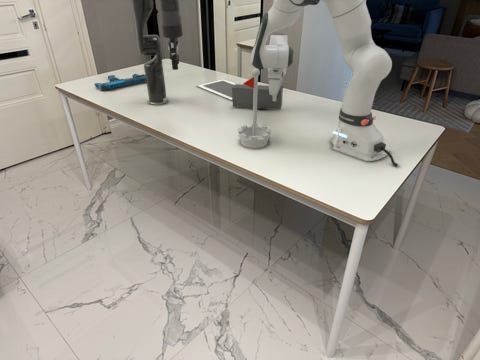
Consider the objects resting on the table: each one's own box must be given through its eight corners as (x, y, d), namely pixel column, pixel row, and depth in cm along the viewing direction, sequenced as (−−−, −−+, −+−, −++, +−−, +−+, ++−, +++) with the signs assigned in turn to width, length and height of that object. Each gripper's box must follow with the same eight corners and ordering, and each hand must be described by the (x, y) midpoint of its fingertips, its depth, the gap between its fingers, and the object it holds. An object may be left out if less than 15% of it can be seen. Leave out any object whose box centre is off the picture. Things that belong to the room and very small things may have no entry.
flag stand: (262, 133, 147) (264, 62, 131) (275, 146, 137) (280, 71, 121) (234, 138, 144) (233, 65, 127) (245, 151, 133) (246, 74, 117)
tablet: (197, 86, 202) (197, 85, 202) (223, 79, 213) (223, 79, 213) (231, 100, 182) (231, 99, 181) (258, 92, 193) (258, 91, 193)
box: (282, 104, 172) (282, 86, 167) (280, 109, 167) (281, 90, 162) (235, 102, 177) (234, 84, 172) (232, 106, 172) (231, 87, 167)
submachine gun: (139, 68, 225) (157, 74, 208) (140, 74, 227) (158, 80, 210) (87, 78, 206) (102, 86, 190) (88, 84, 208) (104, 92, 192)
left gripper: (163, 20, 135) (167, 62, 144) (159, 26, 123) (165, 71, 132) (182, 20, 135) (185, 62, 144) (180, 26, 123) (184, 71, 132)
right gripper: (273, 64, 169) (272, 91, 177) (267, 75, 153) (265, 104, 160) (286, 64, 168) (284, 92, 176) (280, 76, 152) (279, 105, 159)
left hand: (175, 66), depth 138 cm, fingers open, 8 cm apart
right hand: (275, 98), depth 168 cm, fingers closed on box, 6 cm apart
